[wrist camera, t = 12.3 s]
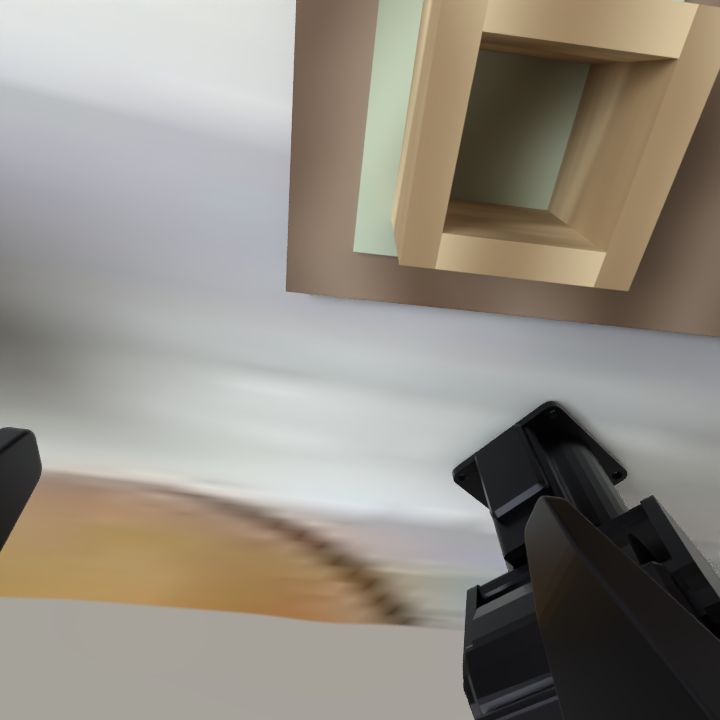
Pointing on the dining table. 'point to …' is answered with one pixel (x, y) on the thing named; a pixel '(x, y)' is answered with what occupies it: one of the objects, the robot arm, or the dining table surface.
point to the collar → (585, 144)
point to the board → (471, 177)
